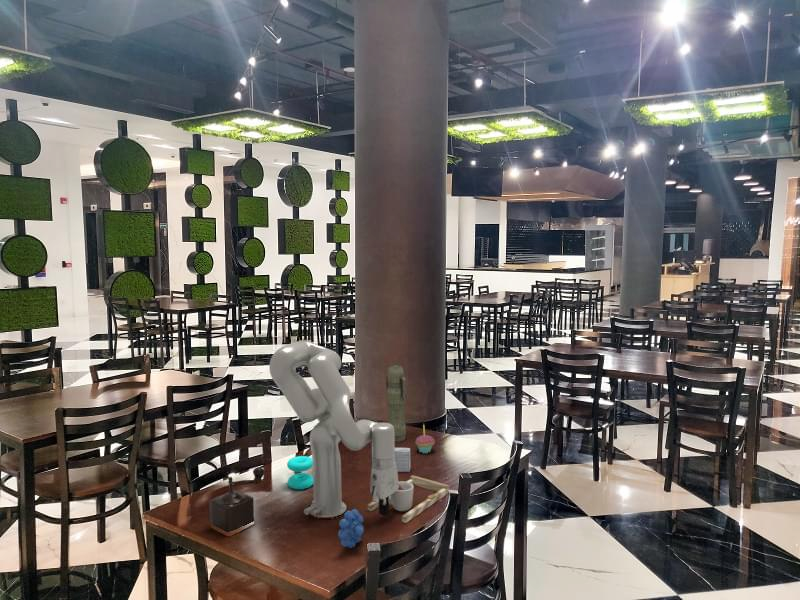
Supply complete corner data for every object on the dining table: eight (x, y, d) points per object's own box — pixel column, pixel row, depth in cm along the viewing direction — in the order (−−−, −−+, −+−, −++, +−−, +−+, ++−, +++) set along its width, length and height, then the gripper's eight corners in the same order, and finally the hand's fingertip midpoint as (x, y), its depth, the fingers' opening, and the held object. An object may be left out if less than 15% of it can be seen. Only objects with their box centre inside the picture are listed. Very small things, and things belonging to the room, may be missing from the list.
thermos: (392, 434, 274) (392, 362, 270) (412, 439, 266) (411, 365, 263) (380, 438, 267) (379, 365, 264) (400, 444, 260) (399, 368, 256)
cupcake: (413, 449, 253) (412, 423, 252) (430, 447, 256) (430, 421, 254) (419, 456, 245) (419, 428, 244) (437, 453, 247) (437, 426, 246)
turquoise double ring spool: (319, 457, 218) (302, 466, 209) (319, 482, 218) (303, 492, 210) (298, 453, 222) (281, 461, 213) (298, 477, 223) (282, 487, 214)
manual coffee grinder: (229, 538, 177) (227, 482, 176) (209, 527, 184) (206, 474, 182) (269, 519, 189) (267, 467, 188) (248, 510, 196) (247, 459, 195)
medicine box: (410, 468, 232) (410, 447, 231) (409, 472, 227) (409, 451, 226) (391, 467, 232) (391, 447, 232) (390, 472, 228) (389, 451, 227)
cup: (386, 516, 191) (385, 493, 190) (380, 505, 199) (380, 483, 198) (416, 511, 194) (416, 489, 193) (410, 501, 201) (409, 479, 201)
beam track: (406, 523, 186) (406, 505, 185) (358, 507, 197) (358, 490, 197) (449, 493, 208) (449, 477, 208) (404, 480, 220) (403, 465, 219)
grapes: (352, 560, 164) (351, 521, 163) (333, 554, 167) (332, 515, 166) (374, 542, 174) (373, 504, 173) (356, 537, 177) (355, 500, 176)
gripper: (378, 470, 179) (379, 526, 181) (405, 456, 191) (406, 508, 193) (360, 465, 184) (361, 520, 186) (387, 451, 196) (388, 503, 198)
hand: (384, 514), depth 189 cm, fingers closed
